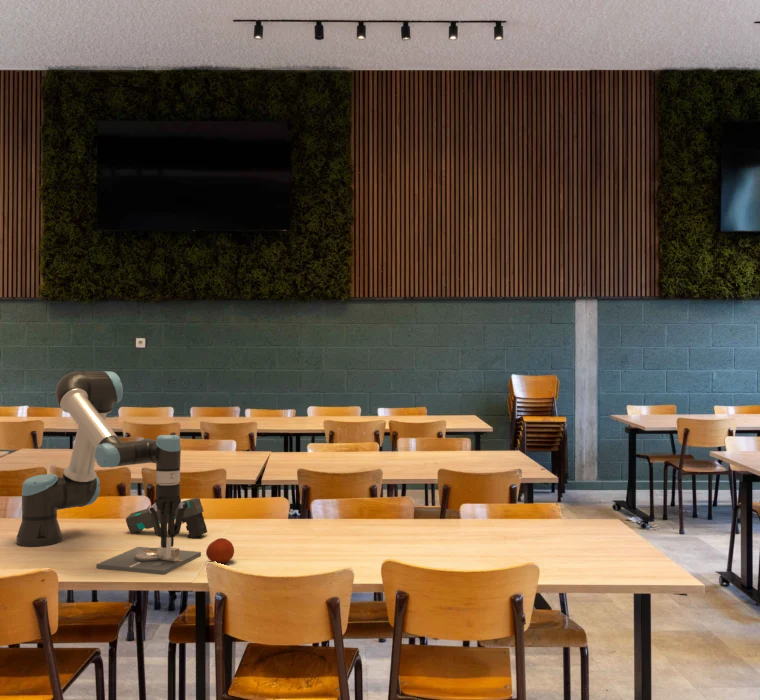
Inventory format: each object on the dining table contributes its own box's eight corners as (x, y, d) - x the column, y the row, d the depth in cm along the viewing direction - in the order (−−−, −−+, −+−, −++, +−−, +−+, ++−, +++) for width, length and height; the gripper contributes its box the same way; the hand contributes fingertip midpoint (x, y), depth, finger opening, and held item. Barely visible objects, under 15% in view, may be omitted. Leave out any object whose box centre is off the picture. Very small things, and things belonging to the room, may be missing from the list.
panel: (96, 568, 258) (96, 563, 258) (138, 550, 282) (138, 546, 282) (163, 574, 252) (163, 570, 252) (200, 555, 275) (200, 551, 275)
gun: (202, 535, 298) (191, 495, 299) (133, 555, 304) (122, 516, 306) (210, 531, 304) (199, 492, 305) (142, 550, 311) (132, 512, 312)
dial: (127, 559, 264) (127, 547, 264) (148, 552, 274) (149, 540, 273) (166, 565, 258) (166, 552, 258) (186, 558, 267) (187, 546, 267)
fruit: (224, 557, 273) (224, 533, 273) (238, 563, 266) (238, 538, 266) (201, 561, 267) (201, 537, 267) (214, 567, 261) (214, 542, 260)
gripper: (153, 486, 254) (152, 562, 254) (191, 483, 262) (190, 556, 262) (143, 483, 260) (142, 558, 260) (181, 480, 268) (180, 552, 268)
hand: (167, 557), depth 261 cm, fingers closed
